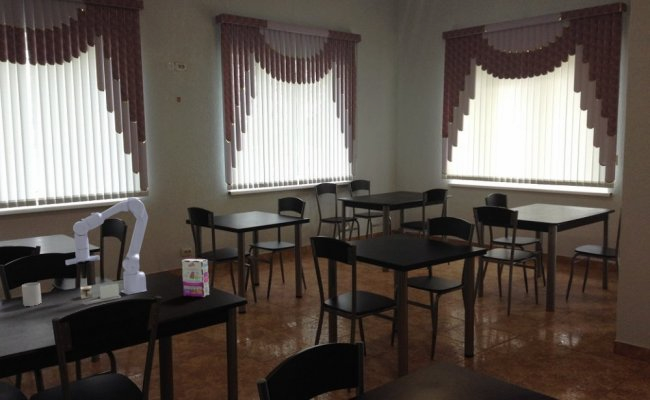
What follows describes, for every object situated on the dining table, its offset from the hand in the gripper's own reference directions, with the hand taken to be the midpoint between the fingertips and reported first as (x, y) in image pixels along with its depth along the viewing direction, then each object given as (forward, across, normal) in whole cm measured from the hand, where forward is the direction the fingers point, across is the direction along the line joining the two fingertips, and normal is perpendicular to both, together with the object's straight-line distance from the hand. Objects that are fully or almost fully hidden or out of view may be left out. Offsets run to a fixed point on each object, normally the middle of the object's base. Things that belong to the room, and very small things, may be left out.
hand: (84, 278), depth 270 cm
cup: (+10, +20, -10) cm, 24 cm away
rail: (+9, -4, +10) cm, 14 cm away
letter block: (+10, -1, -3) cm, 10 cm away
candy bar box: (+10, -37, +34) cm, 51 cm away
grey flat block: (+9, -7, +10) cm, 15 cm away
